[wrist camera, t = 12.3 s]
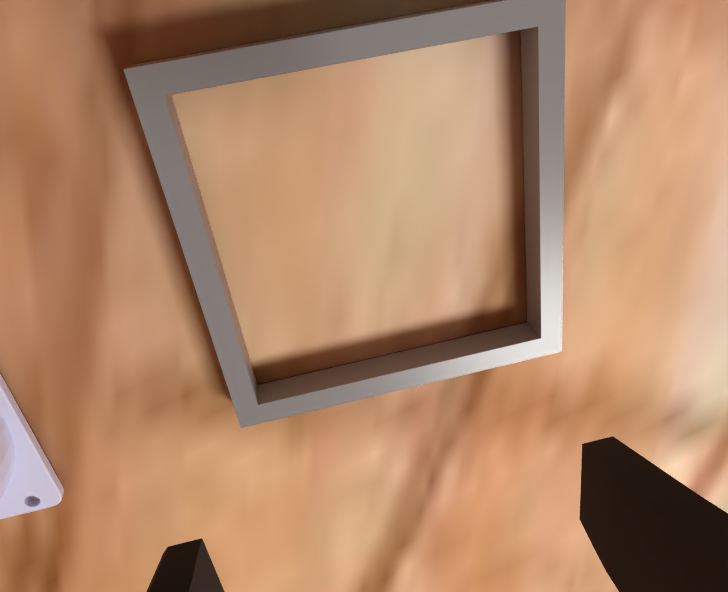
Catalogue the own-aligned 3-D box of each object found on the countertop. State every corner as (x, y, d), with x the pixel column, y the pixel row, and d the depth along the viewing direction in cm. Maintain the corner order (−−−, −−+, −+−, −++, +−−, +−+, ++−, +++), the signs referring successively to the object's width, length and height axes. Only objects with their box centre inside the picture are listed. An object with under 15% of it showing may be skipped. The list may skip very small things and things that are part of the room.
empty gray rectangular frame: (241, 407, 22) (240, 427, 20) (131, 64, 16) (123, 69, 15) (547, 335, 23) (562, 351, 22) (545, -10, 17) (565, -11, 16)
